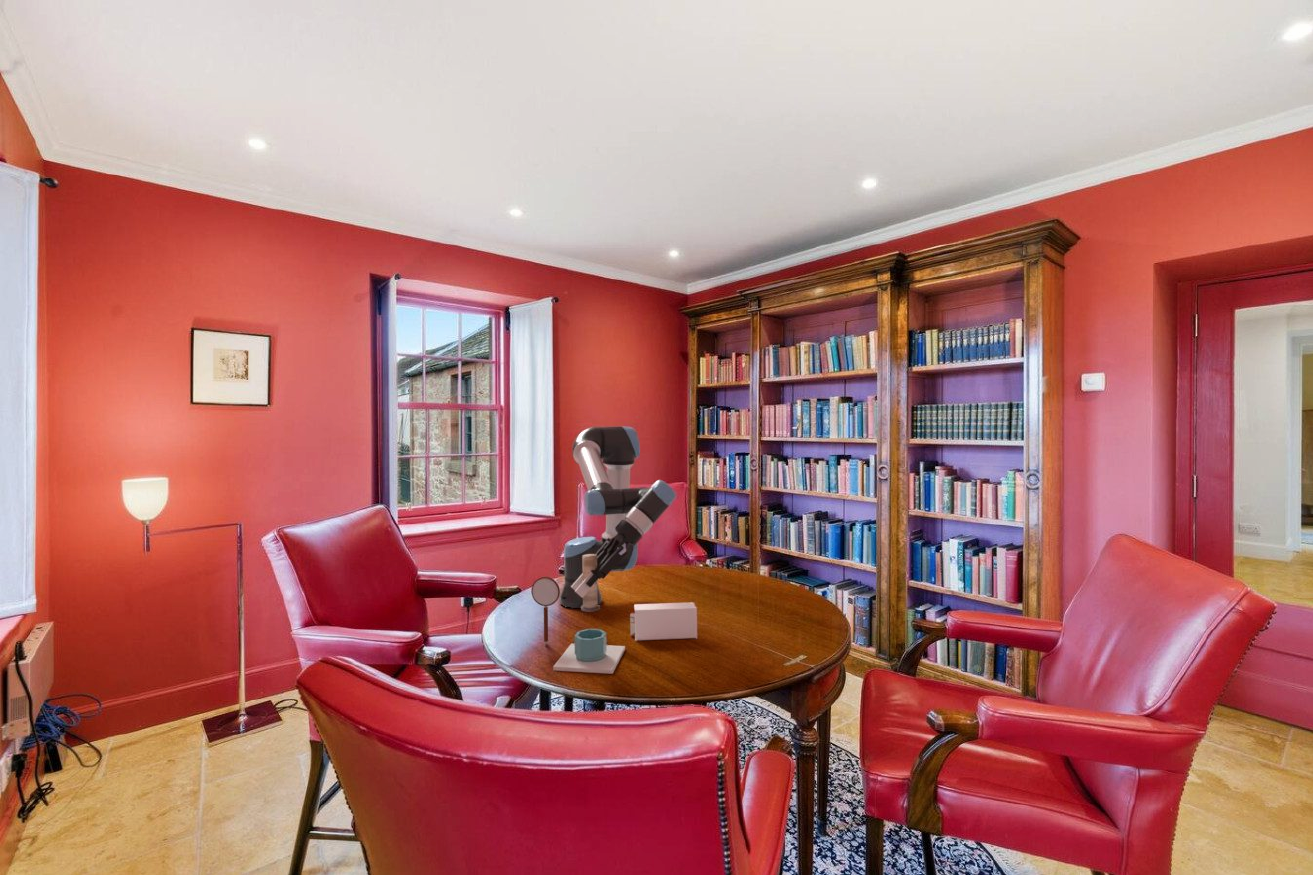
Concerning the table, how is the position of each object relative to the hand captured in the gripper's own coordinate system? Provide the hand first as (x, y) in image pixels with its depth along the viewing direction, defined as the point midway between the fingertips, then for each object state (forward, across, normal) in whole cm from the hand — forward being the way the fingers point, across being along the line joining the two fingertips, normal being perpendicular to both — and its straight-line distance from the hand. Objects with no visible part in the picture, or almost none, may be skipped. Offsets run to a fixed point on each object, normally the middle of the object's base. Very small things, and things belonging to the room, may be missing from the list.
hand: (576, 592), depth 151 cm
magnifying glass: (+18, +16, -10) cm, 26 cm away
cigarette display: (-7, +8, -34) cm, 36 cm away
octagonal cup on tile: (+11, 0, -16) cm, 19 cm away
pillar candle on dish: (+1, 0, -6) cm, 6 cm away
